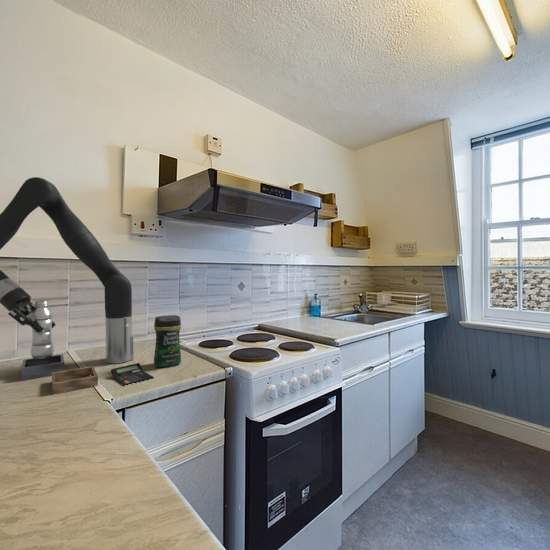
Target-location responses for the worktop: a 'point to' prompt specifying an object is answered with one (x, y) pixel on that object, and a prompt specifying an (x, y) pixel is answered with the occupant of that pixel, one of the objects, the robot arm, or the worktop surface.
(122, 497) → the worktop surface
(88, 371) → the wooden square tray
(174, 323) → the coffee jar
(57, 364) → the gray square tray
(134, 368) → the calculator
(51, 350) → the silver metal bottle
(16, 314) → the robot arm
